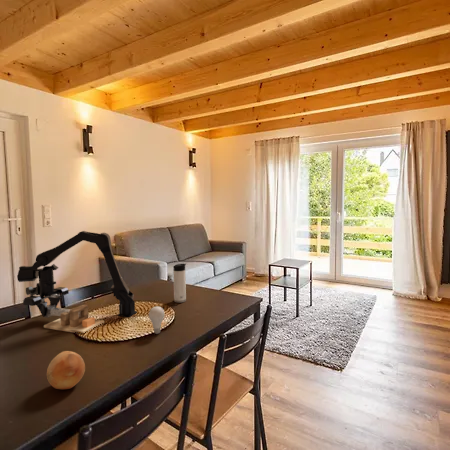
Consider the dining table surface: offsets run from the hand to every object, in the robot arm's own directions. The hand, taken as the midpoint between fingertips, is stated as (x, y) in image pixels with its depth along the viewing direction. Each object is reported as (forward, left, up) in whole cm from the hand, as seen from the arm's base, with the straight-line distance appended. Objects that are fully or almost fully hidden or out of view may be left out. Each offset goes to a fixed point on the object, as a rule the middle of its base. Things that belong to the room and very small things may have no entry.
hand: (48, 314), depth 137 cm
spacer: (-21, 0, -1) cm, 21 cm away
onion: (-47, +36, -3) cm, 60 cm away
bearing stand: (-15, 0, -3) cm, 16 cm away
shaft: (-8, 0, 0) cm, 8 cm away
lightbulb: (-53, -3, -3) cm, 54 cm away
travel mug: (-43, -43, -3) cm, 61 cm away
